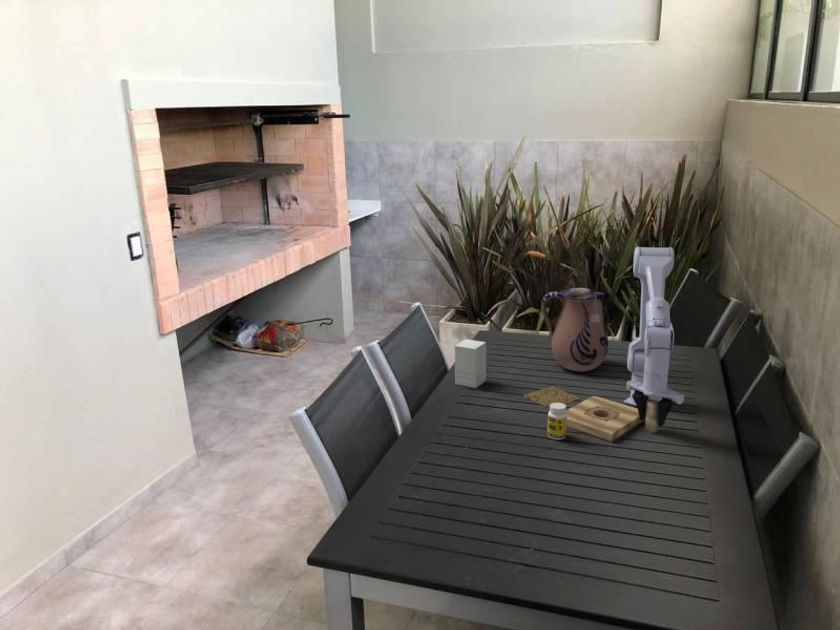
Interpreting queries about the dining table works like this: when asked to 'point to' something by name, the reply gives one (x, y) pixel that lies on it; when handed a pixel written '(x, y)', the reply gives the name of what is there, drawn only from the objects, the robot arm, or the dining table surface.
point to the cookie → (551, 396)
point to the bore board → (602, 418)
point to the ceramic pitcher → (578, 329)
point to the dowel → (652, 416)
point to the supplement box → (470, 363)
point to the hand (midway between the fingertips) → (651, 421)
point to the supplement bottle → (557, 421)
